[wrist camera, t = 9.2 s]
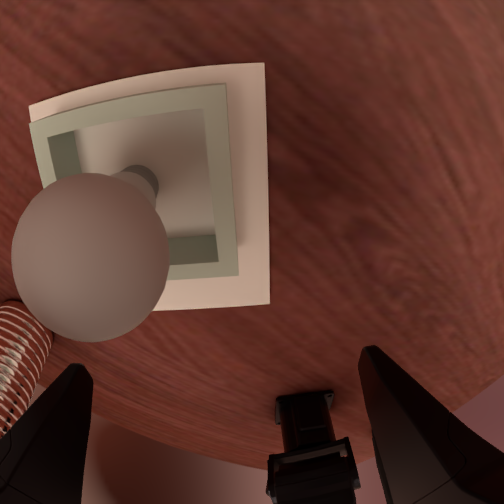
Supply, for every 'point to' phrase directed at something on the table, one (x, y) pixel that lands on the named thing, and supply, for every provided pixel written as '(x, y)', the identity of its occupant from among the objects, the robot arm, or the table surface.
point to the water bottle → (20, 359)
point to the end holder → (179, 169)
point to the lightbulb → (92, 254)
